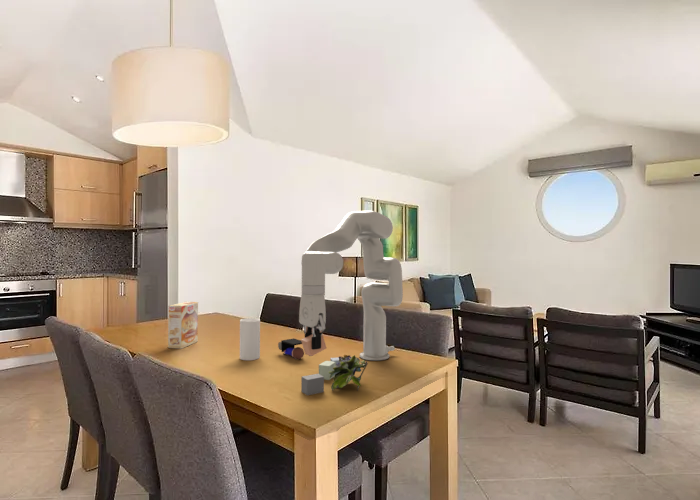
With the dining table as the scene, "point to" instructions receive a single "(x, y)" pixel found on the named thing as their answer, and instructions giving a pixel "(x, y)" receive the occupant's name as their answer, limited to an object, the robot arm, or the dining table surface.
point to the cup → (249, 339)
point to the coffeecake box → (182, 324)
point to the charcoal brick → (312, 384)
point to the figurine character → (291, 348)
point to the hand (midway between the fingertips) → (312, 346)
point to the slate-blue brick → (335, 360)
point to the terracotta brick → (308, 345)
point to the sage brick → (326, 369)
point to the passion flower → (347, 371)
